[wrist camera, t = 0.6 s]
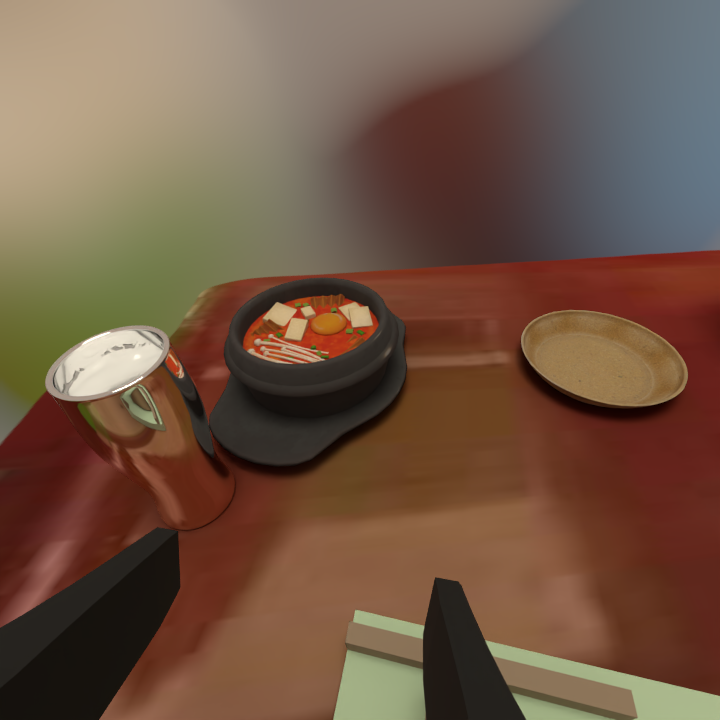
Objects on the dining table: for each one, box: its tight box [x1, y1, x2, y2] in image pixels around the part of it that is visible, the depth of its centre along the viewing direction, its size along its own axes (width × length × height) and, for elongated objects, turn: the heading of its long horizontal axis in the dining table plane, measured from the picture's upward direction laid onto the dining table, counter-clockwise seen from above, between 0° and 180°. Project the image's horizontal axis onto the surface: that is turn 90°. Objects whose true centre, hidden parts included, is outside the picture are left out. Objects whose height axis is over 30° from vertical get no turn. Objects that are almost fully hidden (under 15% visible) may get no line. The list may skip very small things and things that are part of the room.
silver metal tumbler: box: [45, 326, 235, 530], centre depth 27 cm, size 7×7×15 cm
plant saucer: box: [521, 310, 688, 408], centre depth 39 cm, size 15×15×3 cm
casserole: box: [209, 278, 407, 467], centre depth 39 cm, size 25×19×8 cm
